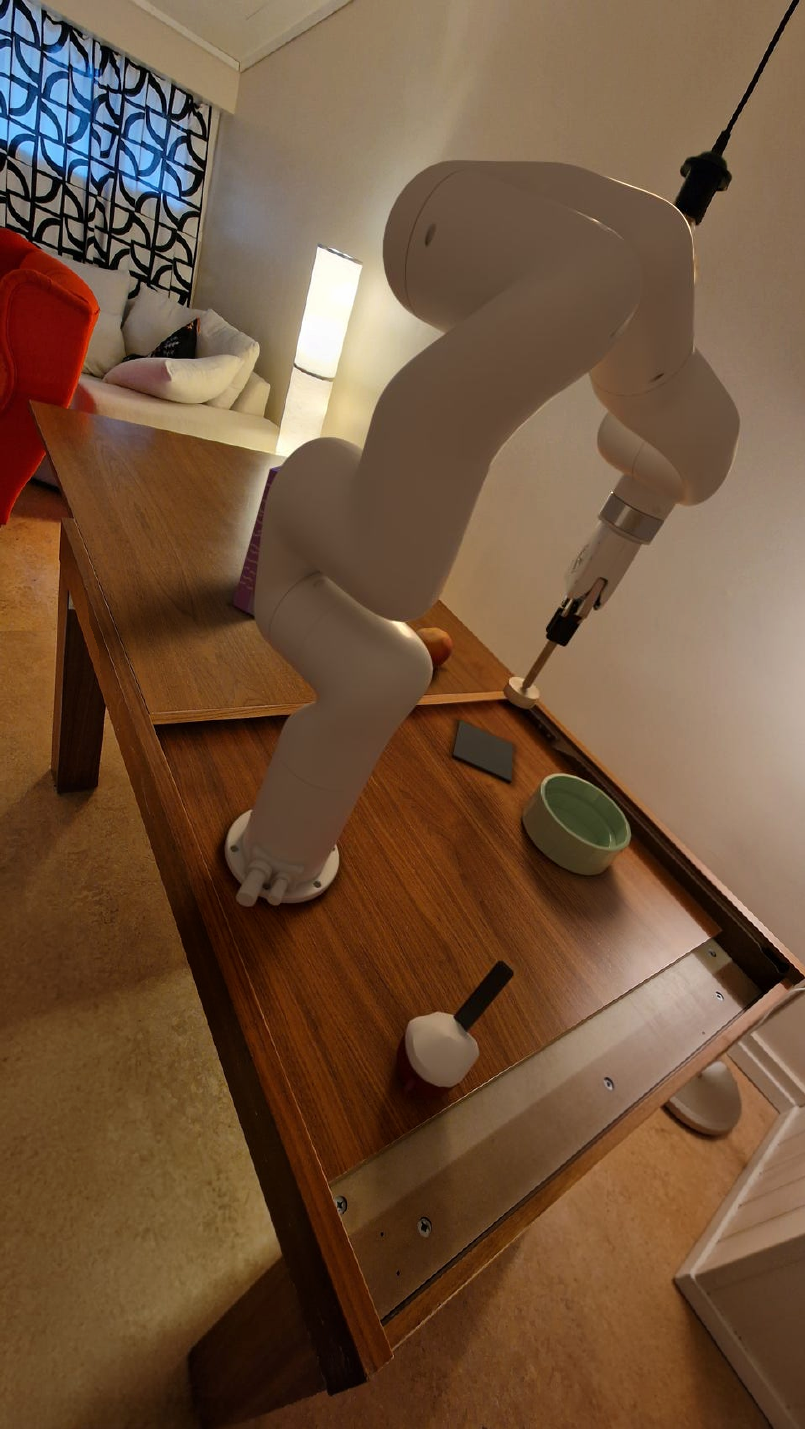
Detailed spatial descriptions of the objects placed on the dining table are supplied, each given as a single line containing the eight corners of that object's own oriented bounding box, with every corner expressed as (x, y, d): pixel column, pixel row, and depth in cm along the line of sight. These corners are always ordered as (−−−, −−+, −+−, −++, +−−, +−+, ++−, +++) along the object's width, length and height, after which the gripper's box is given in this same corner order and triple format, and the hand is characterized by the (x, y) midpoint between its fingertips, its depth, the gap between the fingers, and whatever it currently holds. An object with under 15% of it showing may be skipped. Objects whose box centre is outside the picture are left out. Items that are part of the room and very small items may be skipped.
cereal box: (257, 618, 104) (298, 482, 91) (232, 605, 104) (270, 467, 91) (302, 588, 119) (343, 467, 106) (280, 576, 119) (318, 454, 106)
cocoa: (396, 1124, 52) (457, 1061, 46) (365, 1050, 56) (418, 981, 49) (480, 1083, 58) (545, 1022, 51) (447, 1018, 62) (504, 953, 55)
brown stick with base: (533, 713, 92) (594, 621, 83) (501, 699, 92) (560, 604, 83) (533, 696, 97) (592, 606, 87) (503, 682, 96) (558, 590, 87)
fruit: (441, 679, 110) (439, 634, 107) (403, 675, 114) (399, 633, 111) (460, 666, 116) (458, 624, 114) (423, 663, 120) (420, 622, 117)
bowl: (611, 893, 86) (637, 866, 83) (519, 851, 85) (541, 823, 82) (602, 824, 98) (624, 798, 94) (521, 787, 97) (540, 760, 93)
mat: (510, 782, 97) (511, 780, 96) (452, 756, 96) (453, 754, 96) (512, 746, 105) (513, 744, 105) (458, 721, 104) (459, 719, 104)
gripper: (598, 492, 84) (531, 606, 94) (609, 523, 71) (530, 651, 81) (647, 516, 85) (575, 627, 95) (667, 551, 72) (581, 675, 82)
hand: (555, 637), depth 88 cm, fingers closed on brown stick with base, 1 cm apart
